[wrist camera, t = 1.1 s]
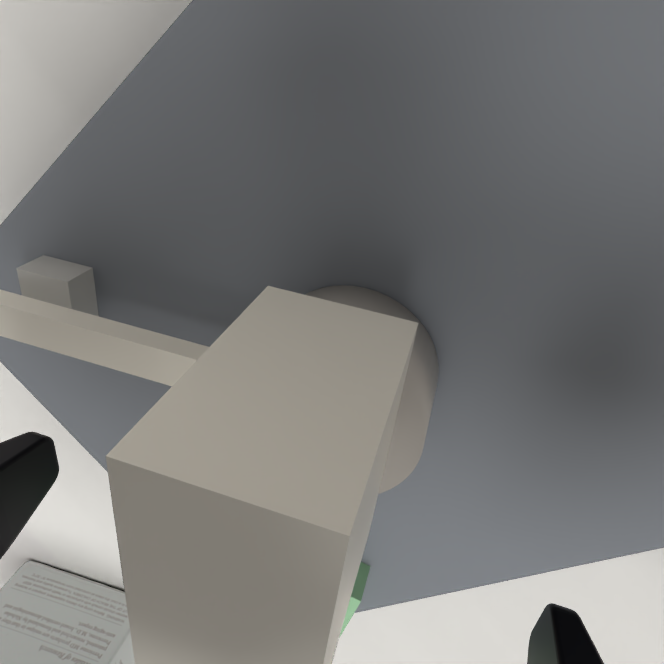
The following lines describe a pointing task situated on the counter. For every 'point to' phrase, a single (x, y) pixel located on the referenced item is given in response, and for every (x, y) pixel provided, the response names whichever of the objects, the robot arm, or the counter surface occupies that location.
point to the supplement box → (62, 619)
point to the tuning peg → (253, 465)
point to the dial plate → (395, 249)
